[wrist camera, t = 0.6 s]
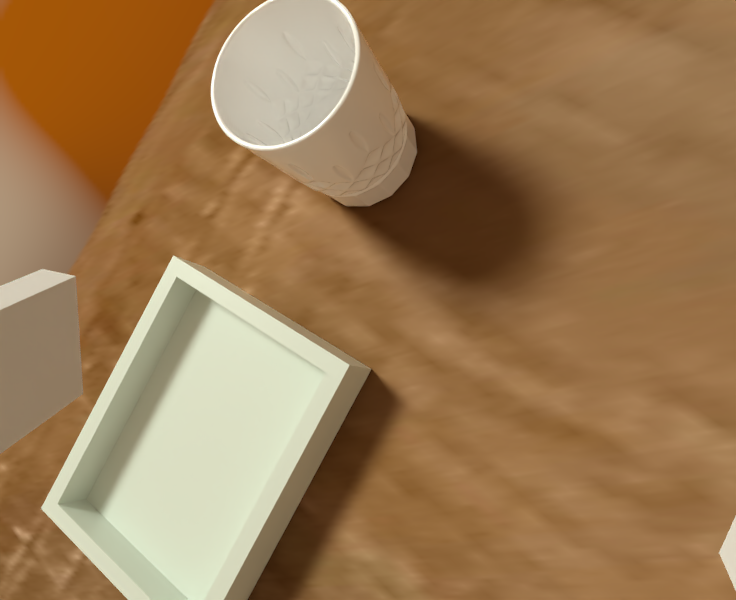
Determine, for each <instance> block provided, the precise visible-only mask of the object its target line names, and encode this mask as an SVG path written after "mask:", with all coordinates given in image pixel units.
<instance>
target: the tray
mask: <svg viewBox="0 0 736 600" xmlns="http://www.w3.org/2000/svg"><path fill="white" fill-rule="evenodd" d="M370 371H371V368H369V367H367V366H366V365H364V364H362V363H361V362H359V361H357V360H356V359H354V358H353V357H351V356H349V355H348V354H346V353H344V352H343V351H341V350H340V349H338V348H336V347H335V346H333V345H331V344H330V343H328V342H326V341H325V340H323V339H322V338H320V337H318V336H317V335H315V334H313V333H312V332H310V331H309V330H307V329H305V328H304V327H302V326H300V325H299V324H297V323H295V322H294V321H292V320H291V319H289V318H287V317H286V316H284V315H282V314H281V313H279V312H278V311H276V310H274V309H273V308H271V307H269V306H268V305H266V304H264V303H263V302H261V301H260V300H258V299H256V298H255V297H253V296H251V295H250V294H248V293H246V292H245V291H243V290H242V289H240V288H238V287H237V286H235V285H233V284H232V283H230V282H229V281H227V280H225V279H224V278H222V277H220V276H219V275H217V274H215V273H214V272H212V271H211V270H209V269H207V268H206V267H204V266H201V265H198V264H196V263H193V262H190V261H187V260H184V259H182V258H179V257H176V256H173V257H172V259H171V261H170V263H169V265H168V267H167V269H166V271H165V273H164V275H163V276H162V278H161V280H160V282H159V284H158V286H157V288H156V290H155V292H154V294H153V296H152V297H151V299H150V301H149V303H148V305H147V307H146V309H145V311H144V313H143V315H142V317H141V319H140V320H139V322H138V324H137V326H136V328H135V330H134V332H133V334H132V336H131V338H130V340H129V341H128V343H127V345H126V347H125V349H124V351H123V353H122V355H121V357H120V359H119V361H118V362H117V364H116V366H115V368H114V370H113V372H112V374H111V376H110V378H109V380H108V382H107V383H106V385H105V387H104V389H103V391H102V393H101V395H100V397H99V399H98V401H97V403H96V405H95V406H94V408H93V410H92V412H91V414H90V416H89V418H88V420H87V422H86V424H85V426H84V427H83V429H82V431H81V433H80V435H79V437H78V439H77V441H76V443H75V445H74V447H73V448H72V450H71V452H70V454H69V456H68V458H67V460H66V462H65V464H64V466H63V468H62V469H61V471H60V473H59V475H58V477H57V479H56V481H55V483H54V485H53V487H52V489H51V491H50V492H49V494H48V496H47V498H46V500H45V502H44V504H43V506H42V508H41V509H42V510H43V511H44V512H45V513H46V514H47V515H48V516H49V517H50V518H51V519H52V520H53V522H54V523H55V524H56V525H57V526H58V527H59V528H60V529H61V530H62V531H63V532H64V533H65V534H66V535H67V536H68V537H69V538H70V539H71V540H72V541H73V542H74V544H75V545H76V546H77V547H78V548H79V549H80V550H81V551H82V552H83V553H84V554H85V555H86V556H87V557H88V558H89V559H90V560H91V561H92V562H93V563H94V564H95V565H96V567H97V568H98V569H99V570H100V571H101V572H102V573H103V574H104V575H105V576H106V577H107V578H108V579H109V580H110V581H111V582H112V583H113V584H114V585H115V586H116V587H117V589H118V590H119V591H120V592H121V593H122V594H123V595H124V596H125V597H126V598H127V599H128V600H248V598H249V596H250V594H251V592H252V591H253V589H254V587H255V585H256V583H257V581H258V579H259V578H260V576H261V574H262V572H263V570H264V568H265V566H266V565H267V563H268V561H269V559H270V557H271V555H272V553H273V552H274V550H275V548H276V546H277V544H278V542H279V540H280V539H281V537H282V535H283V533H284V531H285V529H286V527H287V525H288V524H289V522H290V520H291V518H292V516H293V514H294V512H295V511H296V509H297V507H298V505H299V503H300V501H301V499H302V498H303V496H304V494H305V492H306V490H307V488H308V486H309V485H310V483H311V481H312V479H313V477H314V475H315V473H316V472H317V470H318V468H319V466H320V464H321V462H322V460H323V459H324V457H325V455H326V453H327V451H328V449H329V447H330V445H331V444H332V442H333V440H334V438H335V436H336V434H337V432H338V431H339V429H340V427H341V425H342V423H343V421H344V419H345V418H346V416H347V414H348V412H349V410H350V408H351V406H352V405H353V403H354V401H355V399H356V397H357V395H358V393H359V392H360V390H361V388H362V386H363V384H364V382H365V380H366V379H367V377H368V375H369V373H370Z"/></svg>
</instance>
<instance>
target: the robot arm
mask: <svg viewBox="0 0 736 600" xmlns="http://www.w3.org/2000/svg"><path fill="white" fill-rule="evenodd" d="M82 394H83V384H82V368H81V352H80V336H79V321H78V305H77V289H76V276H73V275H68V274H63V273H58V272H54V271H49V270H44V269H42V270H39V271H36V272H34V273H31V274H29V275H27V276H24V277H21V278H19V279H16V280H14V281H12V282H9V283H6V284H4V285H1V286H0V454H1V453H2V452H4V451H5V450H6V449H8V448H9V447H10V446H12V445H13V444H15V443H16V442H17V441H19V440H20V439H21V438H23V437H24V436H26V435H27V434H28V433H30V432H31V431H32V430H34V429H35V428H37V427H38V426H39V425H41V424H42V423H43V422H45V421H46V420H48V419H49V418H50V417H52V416H53V415H54V414H56V413H57V412H59V411H60V410H61V409H63V408H64V407H65V406H67V405H68V404H70V403H71V402H72V401H74V400H75V399H76V398H78V397H79V396H81V395H82ZM719 553H720V556H721V558H722V560H723V563H724V565H725V567H726V569H727V572H728V574H729V576H730V579H731V581H732V583H733V586H734V588H735V590H736V516H735V519H734V521H733V523H732V525H731V528H730V530H729V532H728V534H727V537H726V539H725V541H724V543H723V545H722V548H721V550H720V552H719Z"/></svg>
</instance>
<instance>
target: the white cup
mask: <svg viewBox="0 0 736 600" xmlns="http://www.w3.org/2000/svg"><path fill="white" fill-rule="evenodd" d="M211 101H212V107H213V111H214V114H215V117H216V119H217V122H218V123H219V125H220V127H221V128H222V130H223V131H224V132H225V134H226V135H227V136H228V137H229V138H231V139H232V140H233V141H234V142H236V143H238V144H239V145H241V146H242V147H244V148H246V149H247V150H249V151H251V152H252V153H254V154H255V155H257V156H259V157H260V158H262V159H263V160H265V161H267V162H268V163H270V164H271V165H273V166H275V167H276V168H278V169H279V170H281V171H283V172H284V173H286V174H287V175H289V176H291V177H292V178H294V179H296V180H297V181H299V182H300V183H303V184H305V185H307V186H308V187H310V188H311V189H313V190H315V191H320V192H322V193H323V194H325V195H327V196H328V197H330V198H332V199H334V200H336V201H337V202H339V203H341V204H343V205H345V206H371V205H373V204H375V203H377V202H379V201H381V200H383V199H386V198H388V197H390V196H392V195H393V194H394V192H395V191H396V190H397V189H398V188H399V187H400V186H401V185H402V183H403V182H404V181H405V180H406V179H407V178H408V177H409V175H410V172H411V169H412V166H413V163H414V160H415V157H416V154H417V145H416V136H415V128H414V126H413V125H412V123H411V121H410V120H409V118H408V117H407V115H406V113H405V112H404V110H403V108H402V105H401V102H400V100H399V97H398V96H397V94H396V92H395V90H394V88H393V86H392V84H391V82H390V80H389V78H388V77H387V75H386V73H385V72H384V70H383V68H382V66H381V65H380V63H379V61H378V60H377V58H376V56H375V55H374V53H373V51H372V50H371V48H370V46H369V44H368V43H367V41H366V39H365V38H364V36H363V34H362V32H361V31H360V29H359V27H358V25H357V24H356V22H355V20H354V19H353V17H352V15H351V14H350V12H349V11H348V10H347V8H346V7H345V6H344V5H343V4H342V3H341V2H339V1H338V0H268V1H266V2H264V3H263V4H261V5H259V6H258V7H257V8H255V9H254V10H253V11H251V12H250V13H249V14H248V15H247V16H246V17H245V18H244V19H243V20H242V21H241V22H240V23H239V24H238V25H237V26H236V27H235V29H234V30H233V31H232V33H231V34H230V35H229V37H228V38H227V40H226V42H225V43H224V45H223V47H222V49H221V51H220V53H219V56H218V58H217V61H216V64H215V67H214V71H213V75H212V82H211Z"/></svg>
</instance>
